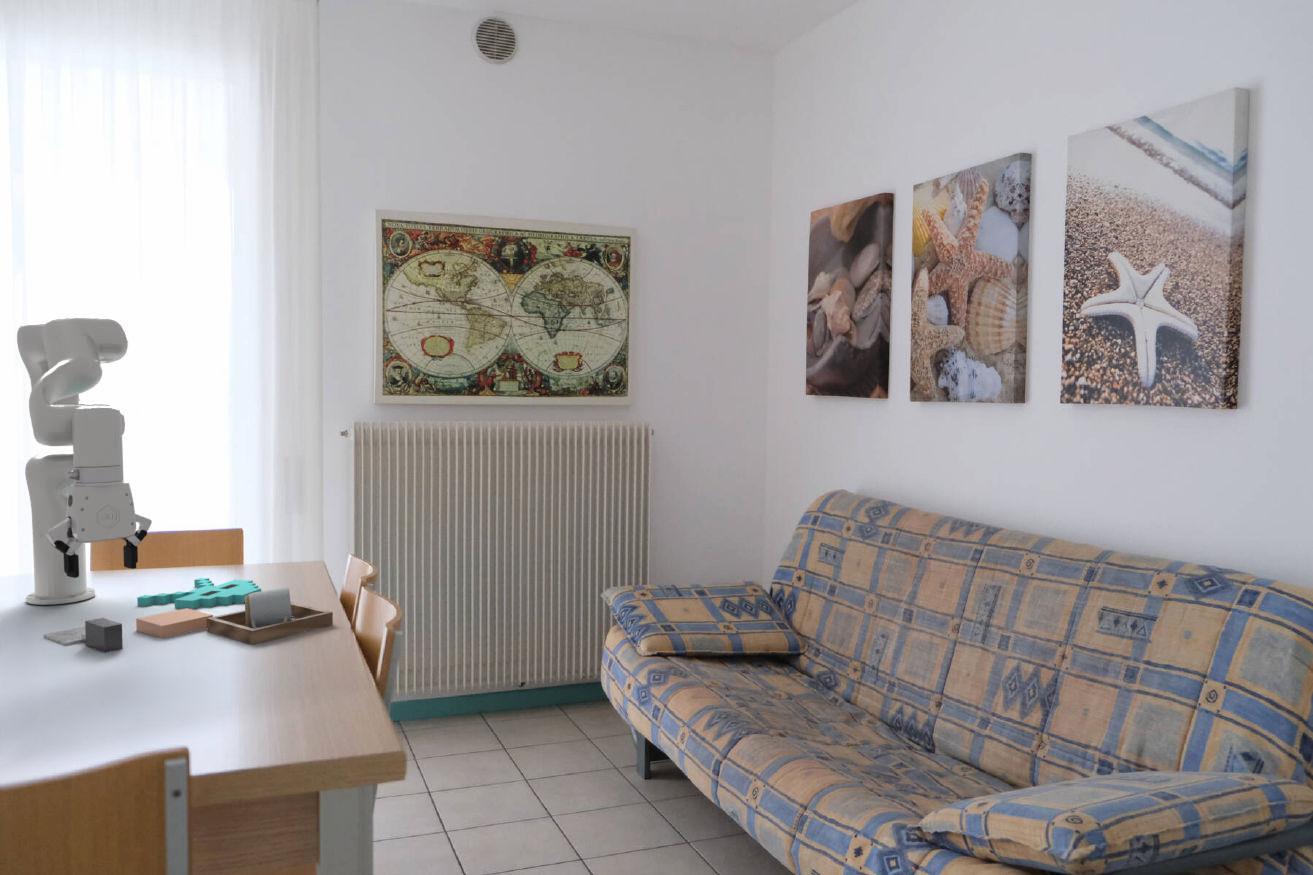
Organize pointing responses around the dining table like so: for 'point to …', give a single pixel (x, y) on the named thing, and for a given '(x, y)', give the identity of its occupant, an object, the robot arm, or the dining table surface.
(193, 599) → the alien figure
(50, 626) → the dining table surface
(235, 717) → the dining table surface
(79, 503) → the robot arm
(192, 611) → the block
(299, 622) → the wooden tray
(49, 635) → the dark grey pieces
